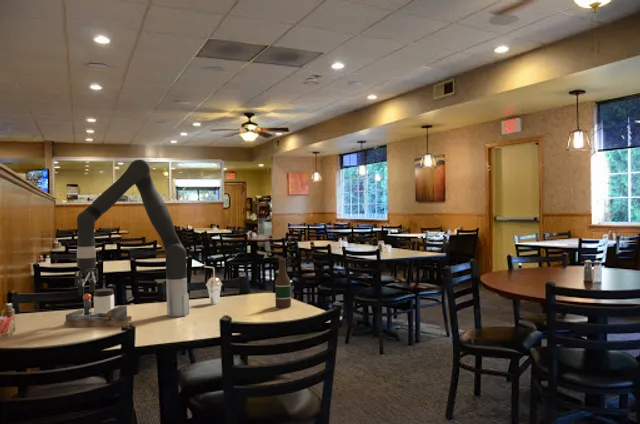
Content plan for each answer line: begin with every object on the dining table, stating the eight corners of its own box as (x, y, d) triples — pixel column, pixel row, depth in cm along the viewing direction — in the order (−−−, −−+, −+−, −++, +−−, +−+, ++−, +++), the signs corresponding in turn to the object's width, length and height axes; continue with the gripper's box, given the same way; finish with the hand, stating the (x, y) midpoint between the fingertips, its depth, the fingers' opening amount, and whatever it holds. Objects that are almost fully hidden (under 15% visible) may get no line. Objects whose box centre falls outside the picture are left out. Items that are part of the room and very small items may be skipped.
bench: (131, 320, 218) (131, 304, 218) (117, 327, 206) (117, 310, 206) (80, 320, 221) (80, 305, 221) (64, 326, 209) (64, 310, 209)
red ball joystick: (100, 316, 217) (100, 292, 217) (92, 320, 210) (91, 294, 210) (85, 316, 218) (85, 292, 218) (76, 320, 211) (76, 294, 211)
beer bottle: (294, 305, 243) (293, 258, 243) (285, 308, 237) (283, 259, 237) (281, 304, 248) (280, 257, 247) (272, 307, 241) (271, 259, 241)
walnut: (118, 318, 215) (118, 309, 215) (113, 320, 211) (113, 310, 211) (109, 318, 215) (109, 309, 215) (104, 320, 211) (104, 310, 211)
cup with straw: (220, 305, 249) (220, 266, 249) (203, 305, 250) (202, 266, 249) (224, 301, 258) (223, 264, 258) (207, 302, 258) (206, 264, 258)
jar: (95, 317, 225) (94, 292, 225) (92, 314, 232) (92, 289, 232) (116, 315, 230) (115, 289, 230) (112, 312, 237) (112, 287, 237)
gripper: (85, 258, 206) (85, 296, 207) (103, 255, 221) (103, 290, 221) (68, 258, 207) (68, 296, 207) (87, 255, 221) (88, 290, 221)
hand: (86, 293), depth 214 cm, fingers open, 8 cm apart
